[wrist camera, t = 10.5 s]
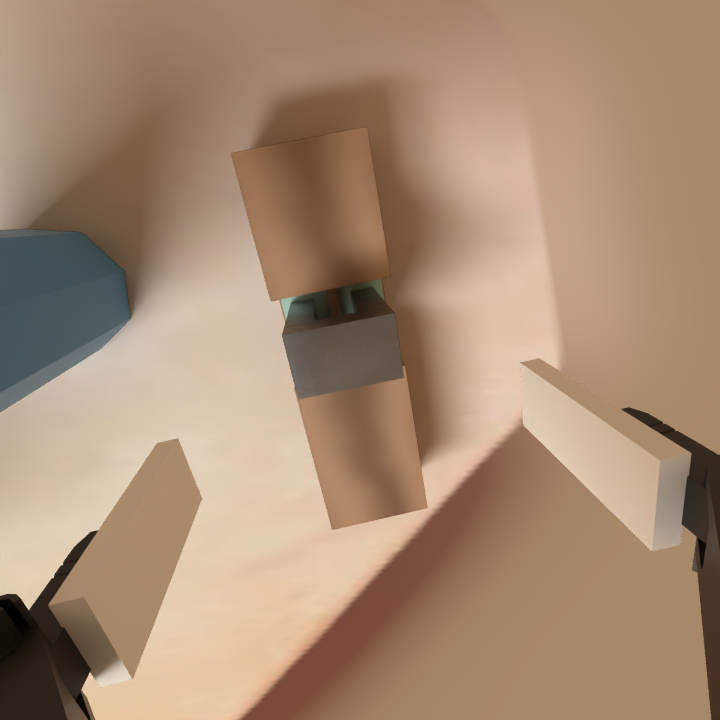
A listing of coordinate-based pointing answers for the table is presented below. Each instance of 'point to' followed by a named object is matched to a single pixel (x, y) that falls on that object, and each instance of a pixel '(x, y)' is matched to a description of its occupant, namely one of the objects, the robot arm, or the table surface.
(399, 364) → the clip
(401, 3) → the table surface
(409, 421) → the rail
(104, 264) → the water bottle
